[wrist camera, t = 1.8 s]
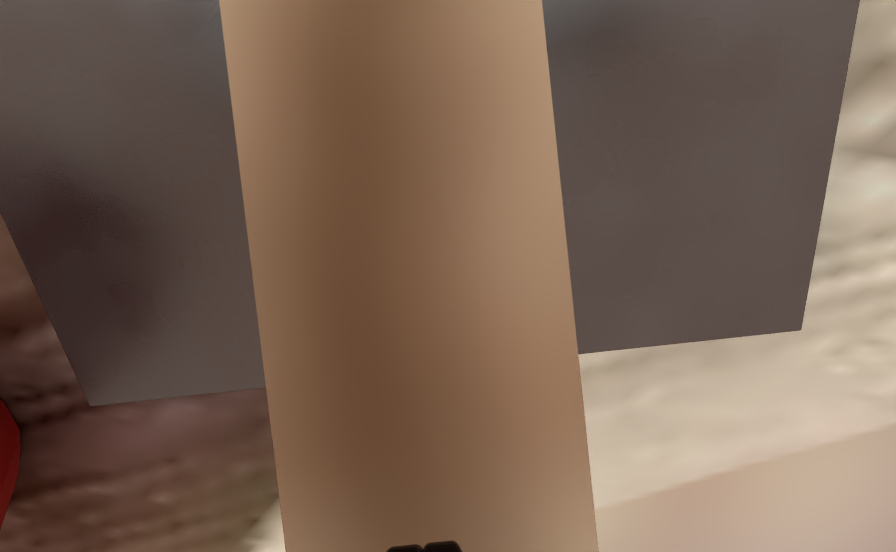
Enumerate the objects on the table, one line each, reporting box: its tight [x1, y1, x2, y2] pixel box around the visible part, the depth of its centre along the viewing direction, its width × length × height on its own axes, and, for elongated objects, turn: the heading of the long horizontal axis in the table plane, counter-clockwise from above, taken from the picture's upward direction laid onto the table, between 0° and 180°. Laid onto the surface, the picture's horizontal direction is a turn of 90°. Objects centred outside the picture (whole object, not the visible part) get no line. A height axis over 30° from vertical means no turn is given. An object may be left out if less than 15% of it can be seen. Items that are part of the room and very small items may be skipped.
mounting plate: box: [0, 0, 860, 406], centre depth 16 cm, size 20×18×4 cm
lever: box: [219, 0, 598, 552], centre depth 13 cm, size 5×16×2 cm
